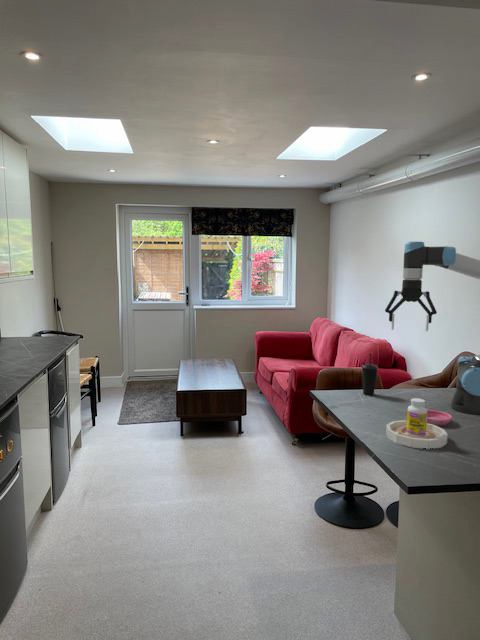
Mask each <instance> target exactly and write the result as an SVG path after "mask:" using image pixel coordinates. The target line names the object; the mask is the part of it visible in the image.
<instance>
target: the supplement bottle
mask: <svg viewBox="0 0 480 640" xmlns="http://www.w3.org/2000/svg"><path fill="white" fill-rule="evenodd" d="M410 404H411V405H410ZM410 404H409V406H408V407H407V410H406V411H407V412H406V414H407V416H406V420H407V426H406V433H407V434H408V435H410V436H415V437H424V436H425V435H426V425H427V410H428V409H427V408H426V406H425V404H426V400H425V399H423V398H418V397H417V398H414V397H413V398H411V399H410Z"/></svg>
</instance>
